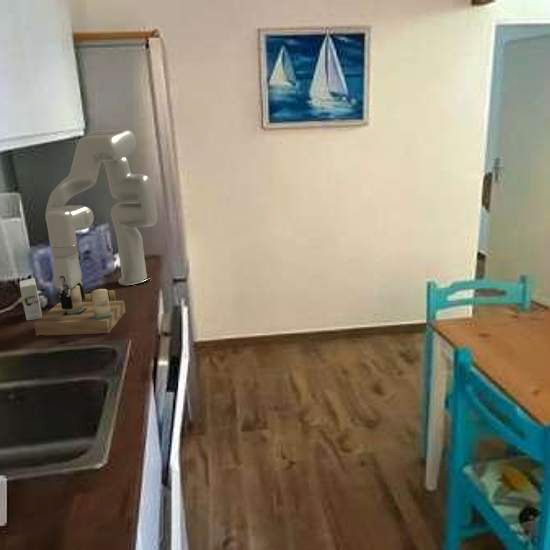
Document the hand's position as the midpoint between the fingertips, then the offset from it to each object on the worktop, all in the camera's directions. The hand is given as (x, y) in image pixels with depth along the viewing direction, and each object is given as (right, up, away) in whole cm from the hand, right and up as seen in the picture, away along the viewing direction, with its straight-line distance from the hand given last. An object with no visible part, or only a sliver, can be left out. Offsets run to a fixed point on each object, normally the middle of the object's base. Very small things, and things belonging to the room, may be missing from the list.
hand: (73, 303), depth 162 cm
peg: (0, -6, +2) cm, 7 cm away
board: (+2, -6, +2) cm, 7 cm away
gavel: (-1, 0, +27) cm, 27 cm away
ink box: (-18, -5, +11) cm, 21 cm away
